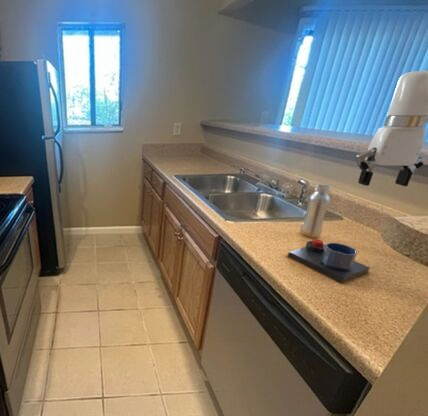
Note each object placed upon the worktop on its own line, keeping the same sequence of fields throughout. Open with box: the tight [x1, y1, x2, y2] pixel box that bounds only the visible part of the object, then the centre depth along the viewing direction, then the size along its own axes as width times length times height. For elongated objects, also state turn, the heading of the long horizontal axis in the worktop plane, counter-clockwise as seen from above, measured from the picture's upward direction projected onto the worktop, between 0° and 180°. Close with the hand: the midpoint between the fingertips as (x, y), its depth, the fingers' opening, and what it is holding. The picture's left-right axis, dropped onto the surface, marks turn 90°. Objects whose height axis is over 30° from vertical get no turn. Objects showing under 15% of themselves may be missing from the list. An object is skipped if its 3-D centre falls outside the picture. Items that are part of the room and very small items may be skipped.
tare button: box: [312, 238, 324, 247], centre depth 92 cm, size 3×3×2 cm
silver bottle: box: [300, 184, 331, 238], centre depth 103 cm, size 6×7×20 cm
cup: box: [321, 242, 358, 270], centre depth 83 cm, size 7×7×6 cm
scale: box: [287, 240, 370, 284], centre depth 87 cm, size 16×13×4 cm
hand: (381, 184), depth 79 cm, fingers open, 9 cm apart
